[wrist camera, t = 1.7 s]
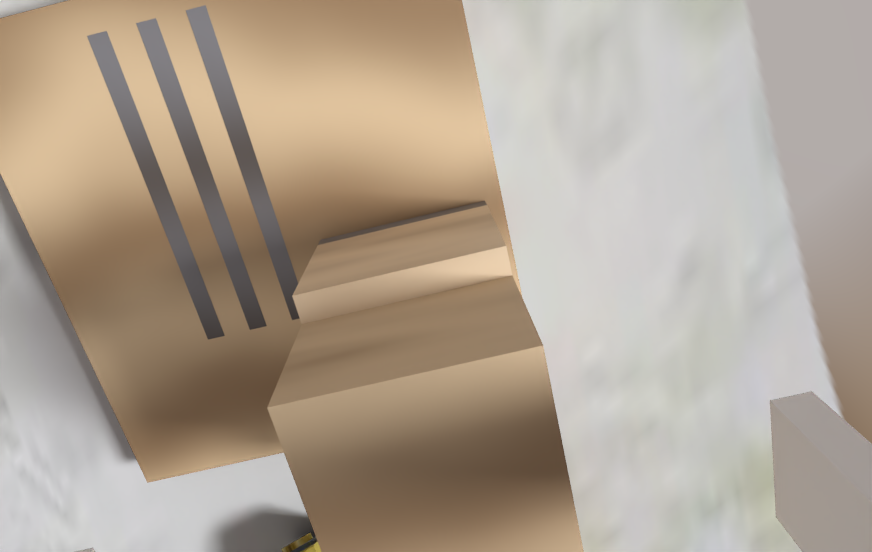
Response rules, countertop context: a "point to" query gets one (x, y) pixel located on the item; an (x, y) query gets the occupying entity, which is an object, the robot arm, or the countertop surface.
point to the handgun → (303, 545)
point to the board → (224, 183)
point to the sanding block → (422, 396)
